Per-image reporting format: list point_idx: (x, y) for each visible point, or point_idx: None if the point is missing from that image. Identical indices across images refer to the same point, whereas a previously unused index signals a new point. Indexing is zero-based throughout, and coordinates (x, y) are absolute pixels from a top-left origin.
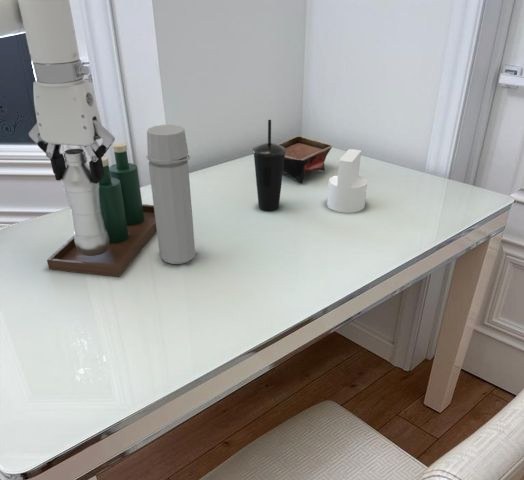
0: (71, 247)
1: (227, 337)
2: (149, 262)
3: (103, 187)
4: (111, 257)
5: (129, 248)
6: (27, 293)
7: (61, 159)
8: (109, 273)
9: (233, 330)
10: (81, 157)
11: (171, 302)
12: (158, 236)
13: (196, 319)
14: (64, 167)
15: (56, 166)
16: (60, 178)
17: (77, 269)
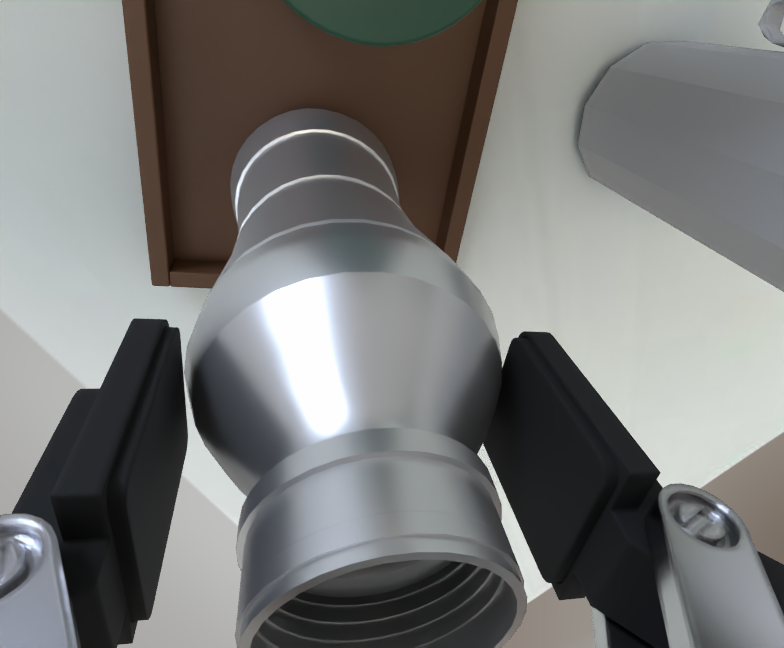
0: (161, 99)
1: (693, 456)
2: (530, 168)
3: (409, 31)
4: None
5: (467, 150)
6: (185, 402)
7: (145, 504)
8: None
9: (710, 437)
10: (478, 603)
11: (596, 375)
12: (633, 183)
13: (645, 420)
14: (165, 402)
15: (162, 555)
16: (185, 437)
17: None
